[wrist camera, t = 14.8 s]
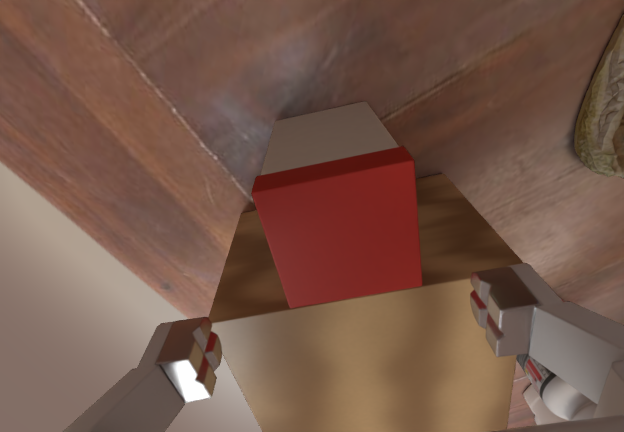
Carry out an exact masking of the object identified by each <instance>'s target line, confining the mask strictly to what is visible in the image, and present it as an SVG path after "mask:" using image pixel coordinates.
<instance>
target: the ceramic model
mask: <svg viewBox="0 0 624 432" xmlns="http://www.w3.org/2000/svg"><path fill="white" fill-rule="evenodd" d="M574 144H575V150H576V152H577V154H578V156H579V157H580V160H582V161H583V162H584V164H585V166H586V167H587V168H589V169H590V170H592V171H594V172H595V173H597V174H600V175H602V174H605V175H606V176H607V177H610V176H614V175H616V176H618V177H621V178H624V14H623V16H622V18H621V20H620V22H619V25H618V27H617V28H616V30H615V32H614V34H613V36H612V38H611V40H610V42H609V44H608V46H607V47H606V50H605V52H604V54H603V57H602V59H601V60H600V63H599V65H598V67H597V69H596V72H595V74H594V76H593V79H592V81H591V83H590V86H589V89H588V90H587V93H586V95H585V98H584V101H583V104H582V107H581V110H580V113H579V115H578V119H577V122H576V127H575V136H574Z"/></svg>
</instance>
